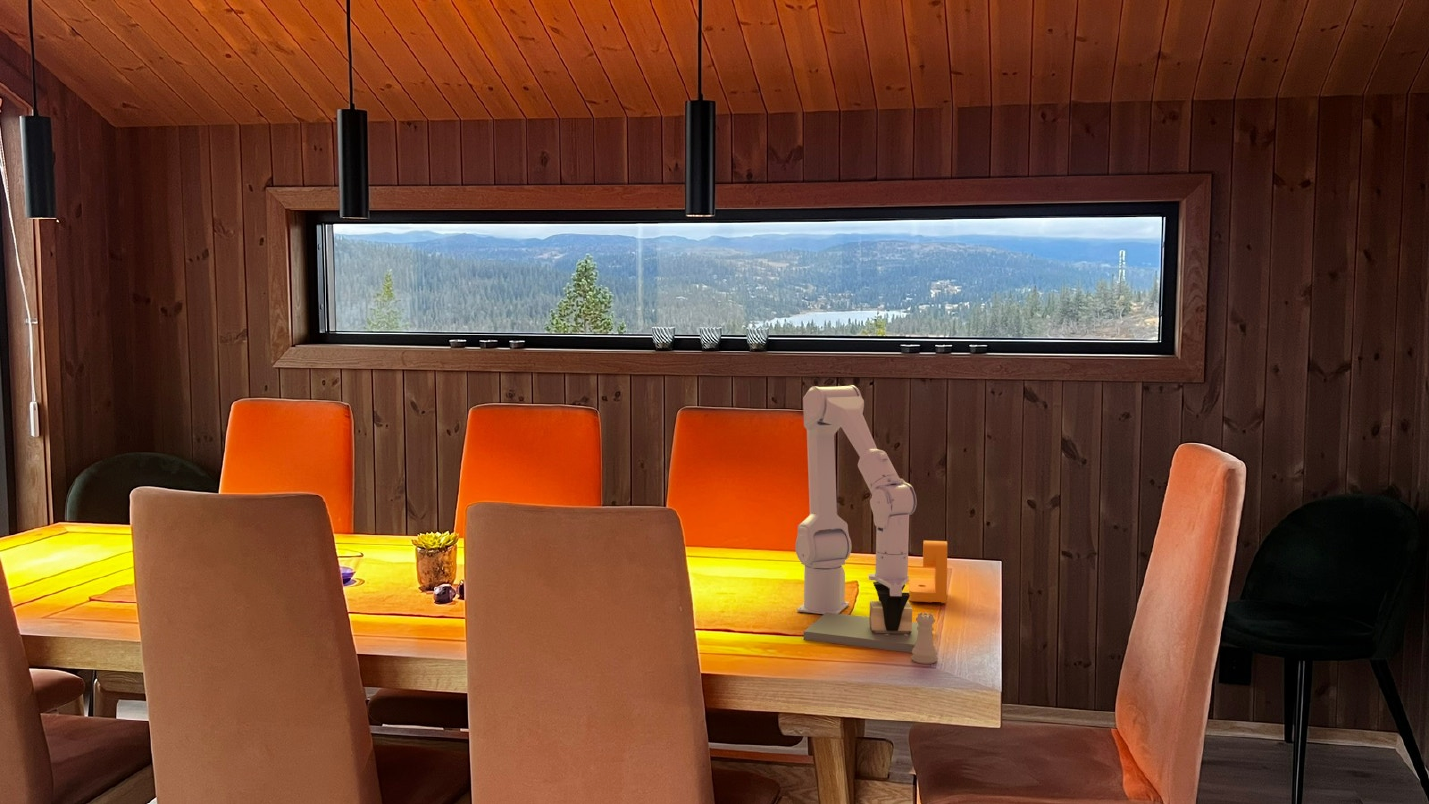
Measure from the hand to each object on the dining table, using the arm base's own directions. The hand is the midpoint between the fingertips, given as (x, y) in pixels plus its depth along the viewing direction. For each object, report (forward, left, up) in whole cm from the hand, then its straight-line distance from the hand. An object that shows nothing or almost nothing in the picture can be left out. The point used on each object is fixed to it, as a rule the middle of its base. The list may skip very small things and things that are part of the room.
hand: (890, 626), depth 218 cm
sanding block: (0, 0, -1) cm, 1 cm away
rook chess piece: (+10, +9, -2) cm, 14 cm away
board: (0, -4, -2) cm, 5 cm away
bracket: (-31, 0, -3) cm, 31 cm away
